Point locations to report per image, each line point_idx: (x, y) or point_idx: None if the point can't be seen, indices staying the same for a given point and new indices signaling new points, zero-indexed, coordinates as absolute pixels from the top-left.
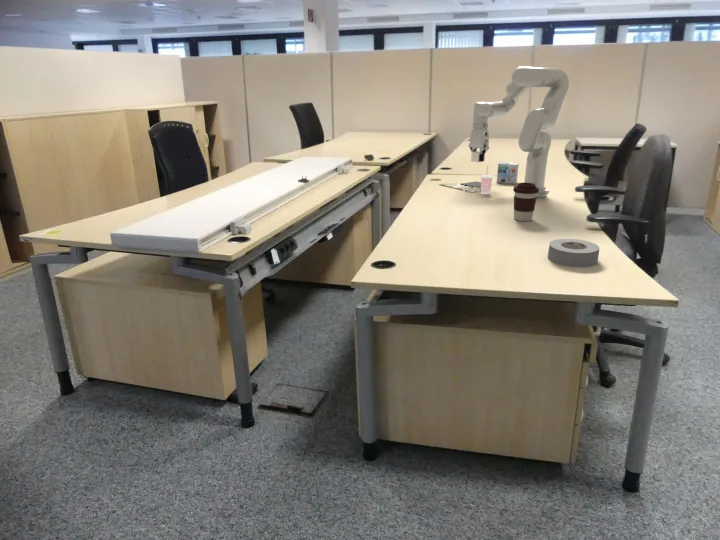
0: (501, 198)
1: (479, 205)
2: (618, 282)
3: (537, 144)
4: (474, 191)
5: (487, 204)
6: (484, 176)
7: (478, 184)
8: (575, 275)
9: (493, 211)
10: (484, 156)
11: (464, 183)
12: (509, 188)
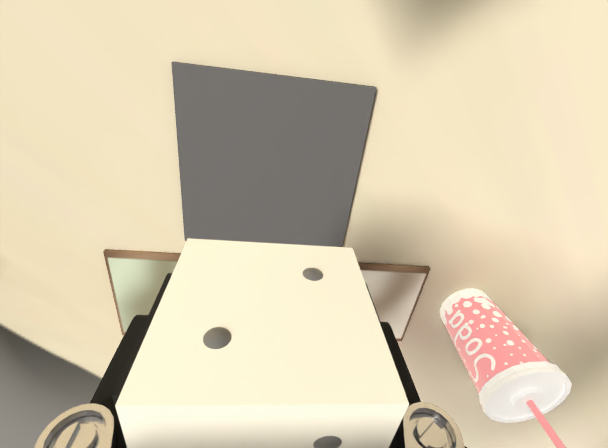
0: (572, 328)
1: (526, 431)
2: None
3: None
4: (404, 328)
5: (547, 412)
6: (516, 411)
7: (291, 166)
8: None
9: (590, 442)
10: (374, 315)
11: (193, 214)
12: (548, 80)
